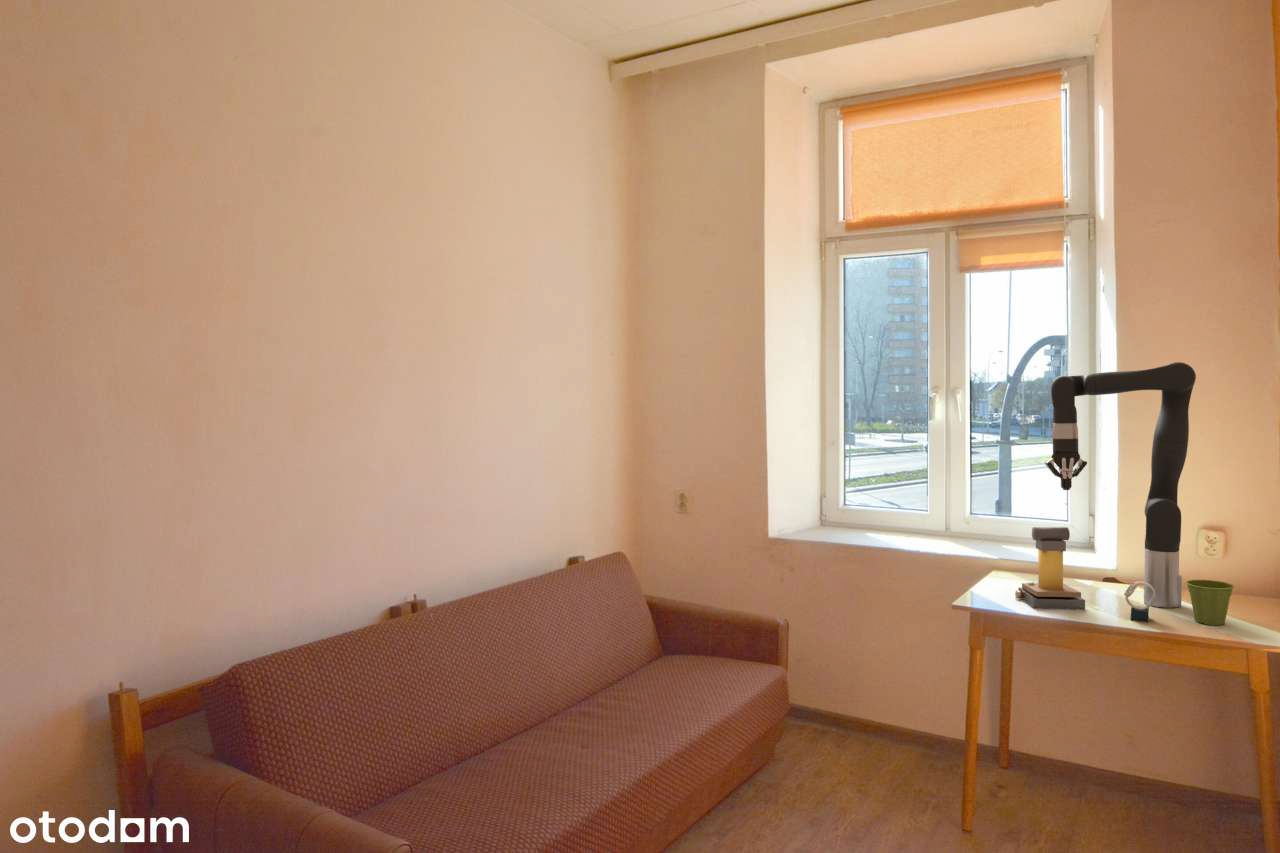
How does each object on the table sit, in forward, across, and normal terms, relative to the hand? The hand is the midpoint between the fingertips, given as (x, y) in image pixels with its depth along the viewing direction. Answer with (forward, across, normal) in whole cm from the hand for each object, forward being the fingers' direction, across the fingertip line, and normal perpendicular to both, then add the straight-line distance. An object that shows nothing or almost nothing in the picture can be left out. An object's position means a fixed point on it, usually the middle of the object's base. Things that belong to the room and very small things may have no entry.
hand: (1066, 489), depth 280 cm
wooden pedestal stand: (+31, -10, -13) cm, 35 cm away
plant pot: (+36, +28, -32) cm, 55 cm away
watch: (+35, +10, -30) cm, 47 cm away
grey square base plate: (+34, -10, -13) cm, 38 cm away
